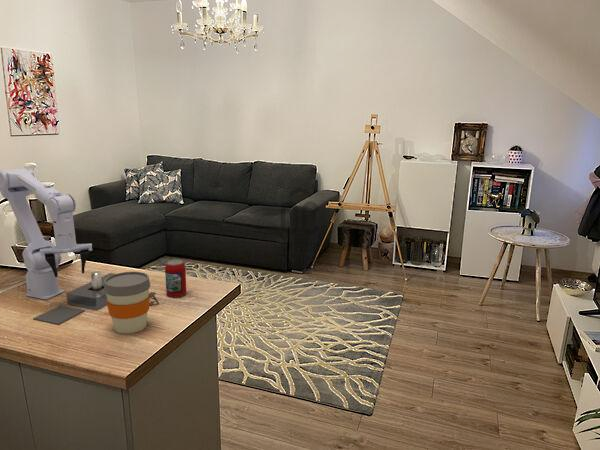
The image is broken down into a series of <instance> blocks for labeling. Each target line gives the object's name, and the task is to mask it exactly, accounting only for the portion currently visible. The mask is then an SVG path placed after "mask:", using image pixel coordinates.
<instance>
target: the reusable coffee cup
mask: <svg viewBox="0 0 600 450" xmlns="http://www.w3.org/2000/svg"><path fill="white" fill-rule="evenodd" d="M113 274H114V275H111V276H109V277H107V278H106V279H105V281H104V292H105V293H106V296H107V298H106V303H107V305H106V306H107V310H108V314H109V316H110V317H111V320H112V326H113V328H114V331H115V332H116V333H118V334H128V335H129V334H134V333H139V332H140V331H143V329H145V328H146V327H147V324H148V323H147V322H148V312H149V310H150V306H149V303H150V302H151V301H150V299H151V298H150V293H151V292H150V287H151V282H150V276H149V275H148V274H147V273H145V272H142V271H123V272H117V273H113Z"/></svg>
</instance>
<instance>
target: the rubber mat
mask: <svg viewBox="0 0 600 450" xmlns="http://www.w3.org/2000/svg"><path fill="white" fill-rule="evenodd" d="M84 312H86V310H84V309H81V308H80V309H79V308H77V307H76V308H75V307H70V306H65V305H61V304H60V305H57V306H55V307H54V308H51V309H49V310H47V311H45V312H43V313H41V314H39V315H37V316H35V317H33V318H32V319H33V320H34V321H39V322H43V323H48V324H52V325H57V326H60V325H61V324H64V323H65V322H67V321H70V320H72V319H73V318H76V316H79V315H81V314H83V313H84Z"/></svg>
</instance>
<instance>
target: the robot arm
mask: <svg viewBox="0 0 600 450" xmlns="http://www.w3.org/2000/svg"><path fill="white" fill-rule="evenodd" d="M0 193H1V196H2V198H4V199H7V201H8V203H9V206H10V207H11V210H12V213H13V214H14V217H15V219H16V221H17V223H18V226H19V228H20V230H21V232H22V236H23V237H24V239H25V242H26V244H27V245H26V247H25V248H24V250H23V251H22V253H21V254H22V255H21V256H22V258H23V264H24V266H25V268H26V269H27V272H26V274H25V283H26V291H27V293H26V294H25V296H26V297H32V298H35V299H36V298H37V299H42V300H49V299H51V298H53V297H56V296H57V295H61V294H62V293H65V292H66V289H63V288H62V289H61V288H60V287H59V281H58V280H59V279H58V276H59V273H58V268H59V265H61V263H62V262H61V261H62V254H67V253H68V254H69V253H79V252H80V253H79V256H80V262H81V274H85V269H86V268H85V267H86V263H87V260H88V257H89V253H90V252H92V251H93V243H77V240H76V230H75V223H74V214H73V213H74V212H75V211H76V209H77V208H76V207H77V203H76V200H75V198H74V196H72V195H71V193H66V194H65V193H61V192H60V191H59V190H57V189H56V188H54V187H53V186H52V185H51V184H49V183H45V184H43V183H42V182H41V181H40V180H38V179H37V178H36V175H35V172H34V171H33V170H32V169H31V168H30V167H24V168H16V169H15V168H14V169H5V170H4V169H0ZM32 193H34V197H35V198H36V200H38V201H39V202H41V204H43V205H44V206H45V207H46V210H47V212H48V214H49V219H50V221H52V226H53V234H54V242H55V244H54V242H52V241H49V240H46V239H44V236H43V233H42V232H41V231H42V230H41V229H40V226H39V224H38V222H37V220H36V218H35V216H34V214H33V211H32V209H31V207H30V204H29V202H28V200H27V197H28V196H29V195H31V194H32Z"/></svg>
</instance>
